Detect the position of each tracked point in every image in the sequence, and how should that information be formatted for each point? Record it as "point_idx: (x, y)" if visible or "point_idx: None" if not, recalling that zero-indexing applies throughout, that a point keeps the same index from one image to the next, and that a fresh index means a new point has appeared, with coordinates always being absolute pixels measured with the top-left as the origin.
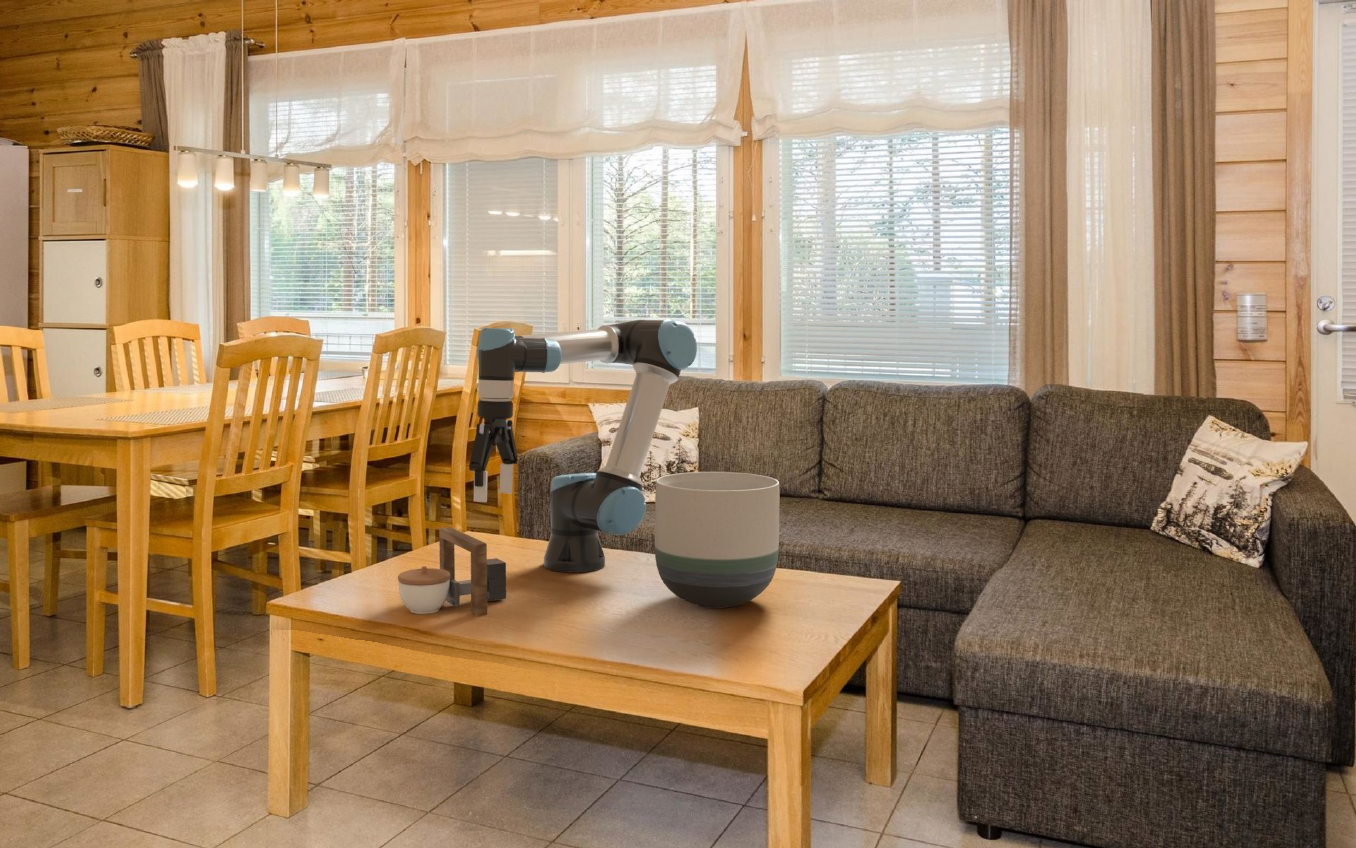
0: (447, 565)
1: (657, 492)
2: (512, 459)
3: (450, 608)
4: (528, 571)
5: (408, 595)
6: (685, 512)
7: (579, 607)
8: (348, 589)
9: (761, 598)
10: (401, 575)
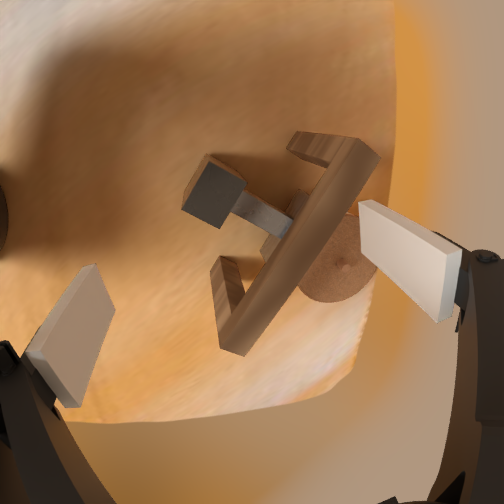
0: (238, 288)
1: None
2: (14, 378)
3: None
4: (30, 252)
5: None
6: None
7: (181, 18)
8: (266, 382)
9: None
10: (361, 285)
